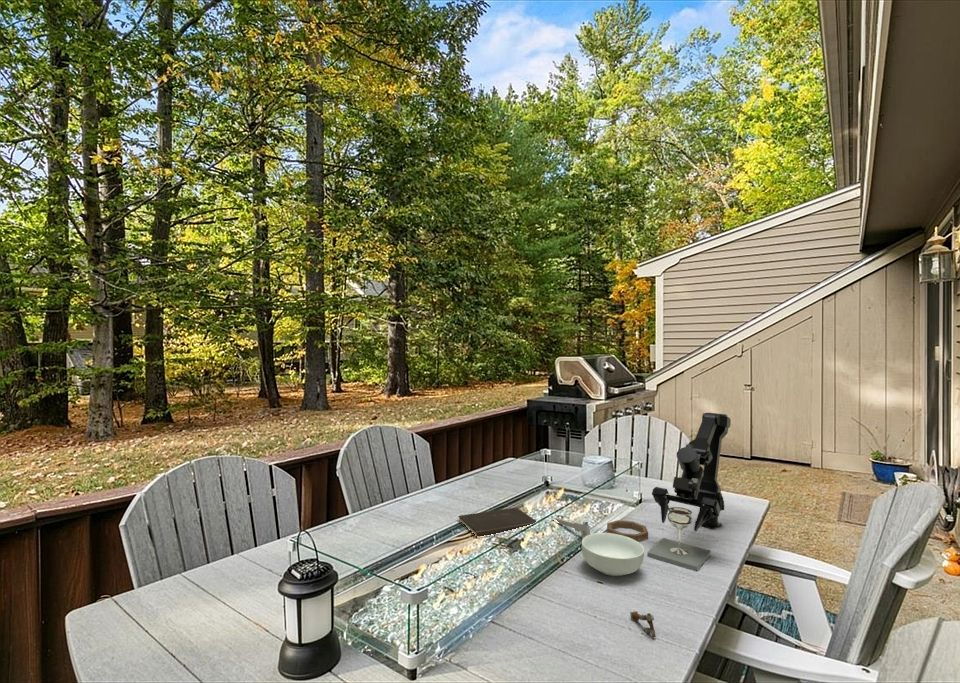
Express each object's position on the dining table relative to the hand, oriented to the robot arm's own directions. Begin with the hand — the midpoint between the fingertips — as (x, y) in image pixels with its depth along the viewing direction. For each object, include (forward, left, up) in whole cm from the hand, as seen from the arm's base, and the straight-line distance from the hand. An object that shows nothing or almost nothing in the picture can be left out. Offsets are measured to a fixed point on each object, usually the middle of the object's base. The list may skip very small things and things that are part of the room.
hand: (678, 526), depth 146 cm
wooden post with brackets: (+39, +17, -9) cm, 43 cm away
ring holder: (-1, -19, -9) cm, 21 cm away
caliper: (+13, -32, -10) cm, 35 cm away
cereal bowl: (+23, -5, -9) cm, 25 cm away
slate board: (-1, 0, -9) cm, 9 cm away
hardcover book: (+30, -49, -10) cm, 58 cm away
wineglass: (-1, -1, -8) cm, 8 cm away
